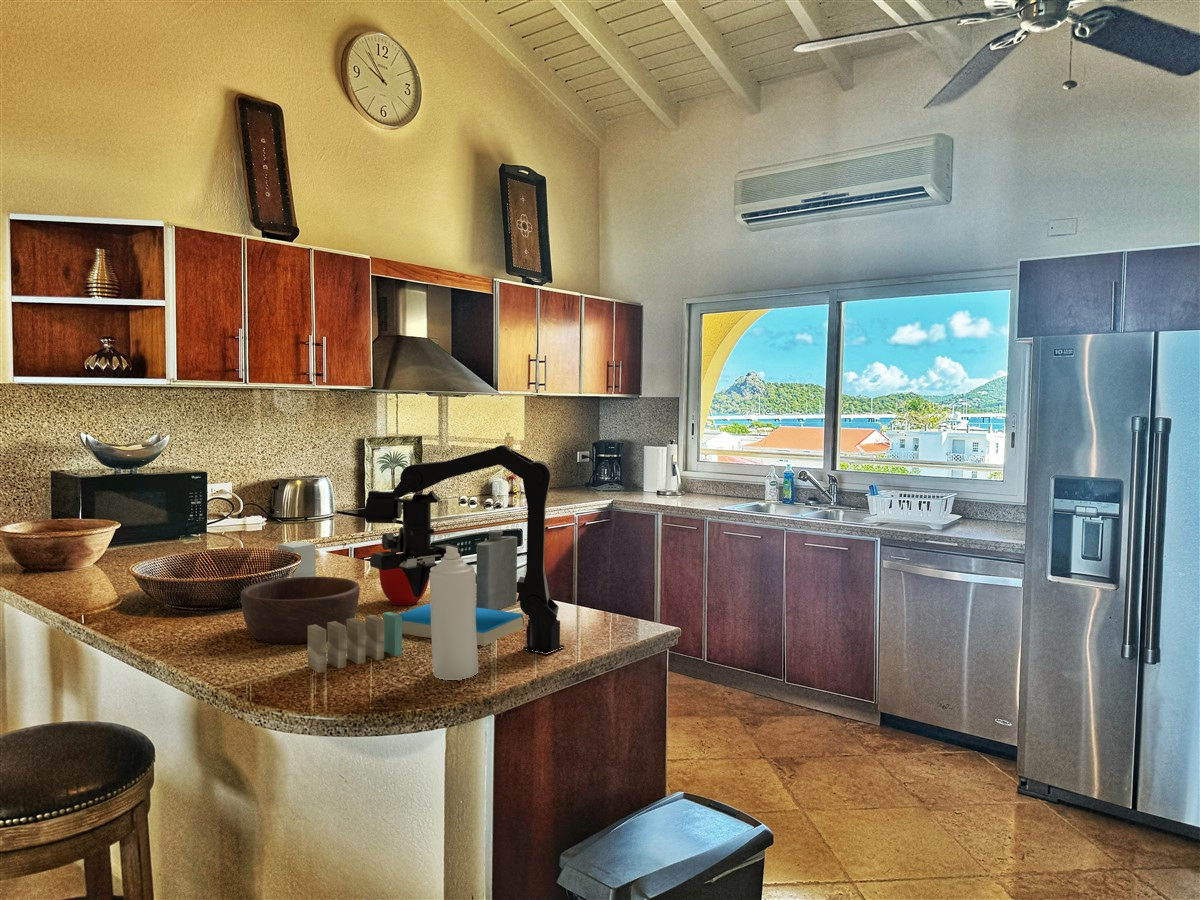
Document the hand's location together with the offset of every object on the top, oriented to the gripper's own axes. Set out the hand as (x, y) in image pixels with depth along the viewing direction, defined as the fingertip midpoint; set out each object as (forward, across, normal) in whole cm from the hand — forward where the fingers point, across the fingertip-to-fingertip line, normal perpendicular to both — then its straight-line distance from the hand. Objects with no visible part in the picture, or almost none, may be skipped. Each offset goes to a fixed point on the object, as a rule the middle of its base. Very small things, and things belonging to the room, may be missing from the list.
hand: (416, 597), depth 171 cm
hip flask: (+11, -32, -18) cm, 38 cm away
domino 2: (+11, +18, 0) cm, 21 cm away
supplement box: (+11, -2, -71) cm, 71 cm away
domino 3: (+11, +14, 0) cm, 17 cm away
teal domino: (+11, +6, 0) cm, 12 cm away
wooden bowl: (+11, +14, -27) cm, 32 cm away
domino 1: (+11, +22, 0) cm, 24 cm away
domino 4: (+11, +10, 0) cm, 14 cm away
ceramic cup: (+11, -19, -39) cm, 45 cm away
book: (+12, -14, -6) cm, 19 cm away
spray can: (+11, +4, +20) cm, 24 cm away
